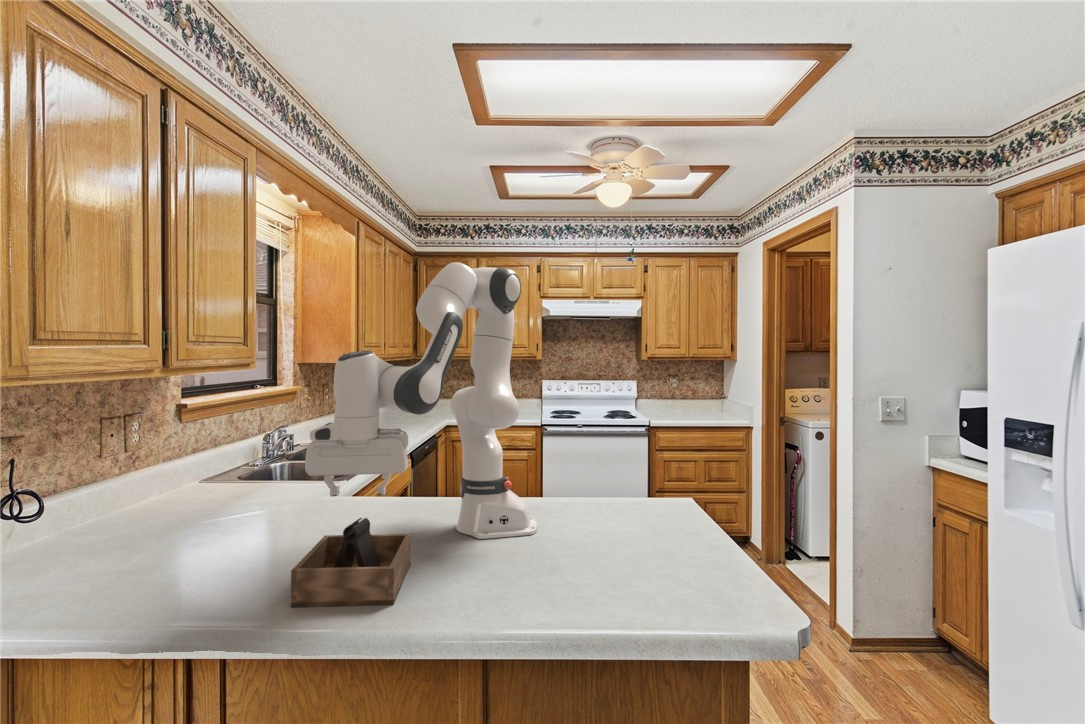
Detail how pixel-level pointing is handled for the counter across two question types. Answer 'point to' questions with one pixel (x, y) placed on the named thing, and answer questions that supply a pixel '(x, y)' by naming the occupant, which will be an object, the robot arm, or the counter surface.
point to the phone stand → (358, 546)
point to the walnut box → (350, 574)
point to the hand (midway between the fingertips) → (358, 495)
